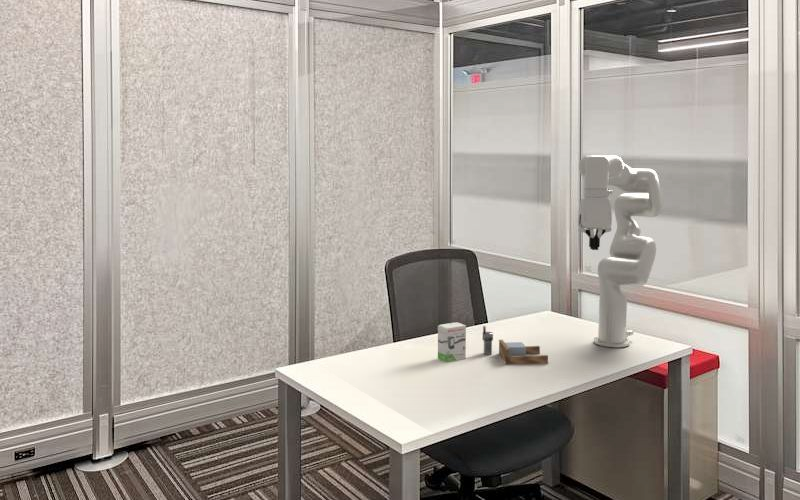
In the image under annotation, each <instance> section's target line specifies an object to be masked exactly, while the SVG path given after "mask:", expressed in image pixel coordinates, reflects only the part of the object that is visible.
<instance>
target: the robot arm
mask: <svg viewBox="0 0 800 500" xmlns="http://www.w3.org/2000/svg"><path fill="white" fill-rule="evenodd" d="M578 171H579V173H580V174H579V175H580V176H581V177H582V178H584V191H583V193H584V195H583V197H582V198H581V199H580V204H579V209H578V218H577V220H578V221H577V224H578V229H577V230H578V232H581V233H585V235H587V236H588V238H589V241H588V242H589V243H588V244H589V245H588V246H589V248H590V250H593V251H599V248H600V247H601V245H600V244H601V238H602V236H603V235H604V234H605V233H609V232H612V223H613V215H612V214H613V213H612V204H611V199H610V198H609V196H610V195H613V190H610V189H609V186H612V187H614V188H616V189H618V190H620V191H622V192H626V193H622V194H619V195H617V196H616V198H615V200H614V203H613V204H614V205H613V207H614V208H613V209H614V217H615V223H616V230H615V233H614V235H613V238H612V240H611V243H610V244H611V245H610V246H609V247H610V248H609V256H608V257H604V258H602V259H601V260H600V261H599V262H598V265H597V275H598V283H599V301H598V302H599V304H598V328H597V329H598V331H597V336H596V337H594V338H593V343H594V344H596V345H598V346H601V347H606V348H625V347H629V346H630V345H631V344H630V343H631V341H630V340H629V339H628V337H629V336H633V335H634V331H633V330H631V329H630V330H627V312H628V311H627V310H628V309H627V308H628V296H627V293H626V291H625V288H624V287H623V286H630V287H631V286H632V287H643V286H645V285H646V284H647V282H648V280H649V277H650V274H651V271H652V268H653V265H654V262H655V259H656V254H657V247H656V246H657V244H656V242H655V241H654V240H653V239H652V238H651V237H647V236H640V235H641V228H640V226H639V224H638V223H637V221H635V219H634V218H632V217H648V218H650V217H651V218H655V217H658V216H659V215H660V214H661V213H662V211H663V198H662V192H661V184H660V182H659V181H660V180H659V177H658V174H657V173H656V171H655V170H653V169H651V168H632V167H630V166H629V165H627V164H625V163H624V162H623V159H622V158H621V157H619V156H617V155H585V156H583V157H581V159H580V161H579V164H578Z"/></svg>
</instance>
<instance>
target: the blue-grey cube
mask: <svg viewBox="0 0 800 500" xmlns="http://www.w3.org/2000/svg"><path fill="white" fill-rule="evenodd" d="M505 343H506V345H507V346H508V348H509V349H510V356H527V354H526V346H527V345H525V344H524V343H523V341H517V342H516V341H515V342H505Z"/></svg>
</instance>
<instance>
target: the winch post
mask: <svg viewBox="0 0 800 500" xmlns="http://www.w3.org/2000/svg"><path fill="white" fill-rule="evenodd" d="M482 328H483V329H482V330H483V332H482V341H483V354H484V356H489V355H490V356H492V354H493V352H492V349H493V348H492V347H493V344H492V343H493V340H494V332H493V331H492V332H491V331H486V328H487V327H486V325H483V327H482Z"/></svg>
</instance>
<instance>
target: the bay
mask: <svg viewBox="0 0 800 500" xmlns="http://www.w3.org/2000/svg"><path fill="white" fill-rule="evenodd" d="M506 343H507V342H505V341H504V340H503V339H499V340H498V354H499V356H500V357H501V359H502V360H503V362H504V364H505V365H522V364H523V365H524V364H525V365H529V364H530V365H531V364H533V365H534V364H535V365H536V364H539V365H540V364H549V355H548V354H540V352H541V351H540V348H541V346H540V345H525V346H526V356H510V349H509V348H508V346H507V345H506Z"/></svg>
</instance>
